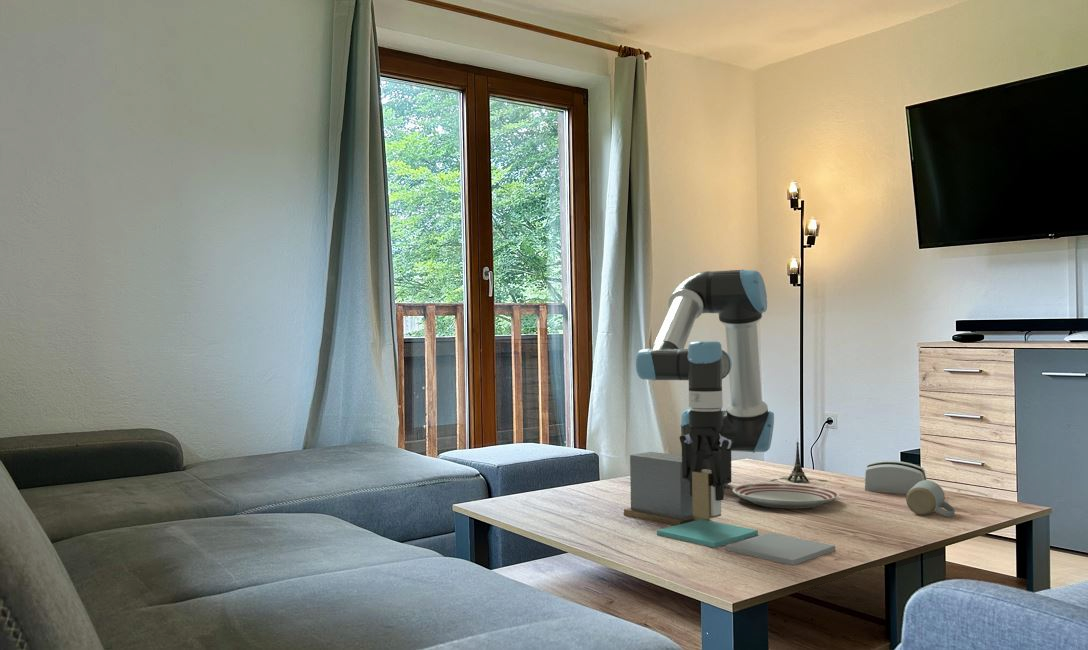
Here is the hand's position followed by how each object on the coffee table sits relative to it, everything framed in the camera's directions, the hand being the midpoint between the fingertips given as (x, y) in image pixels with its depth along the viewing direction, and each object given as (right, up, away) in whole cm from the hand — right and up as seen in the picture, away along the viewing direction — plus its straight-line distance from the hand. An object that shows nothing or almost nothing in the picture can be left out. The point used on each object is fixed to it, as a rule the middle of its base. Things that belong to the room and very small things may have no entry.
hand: (706, 512), depth 194 cm
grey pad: (+13, -5, -14) cm, 20 cm away
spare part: (0, -1, 0) cm, 1 cm away
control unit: (-7, -5, +18) cm, 20 cm away
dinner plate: (+28, -5, +35) cm, 45 cm away
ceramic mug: (+59, -5, +19) cm, 62 cm away
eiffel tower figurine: (+40, -5, +65) cm, 77 cm away
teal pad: (0, -5, 0) cm, 5 cm away
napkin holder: (+61, -5, +46) cm, 77 cm away
